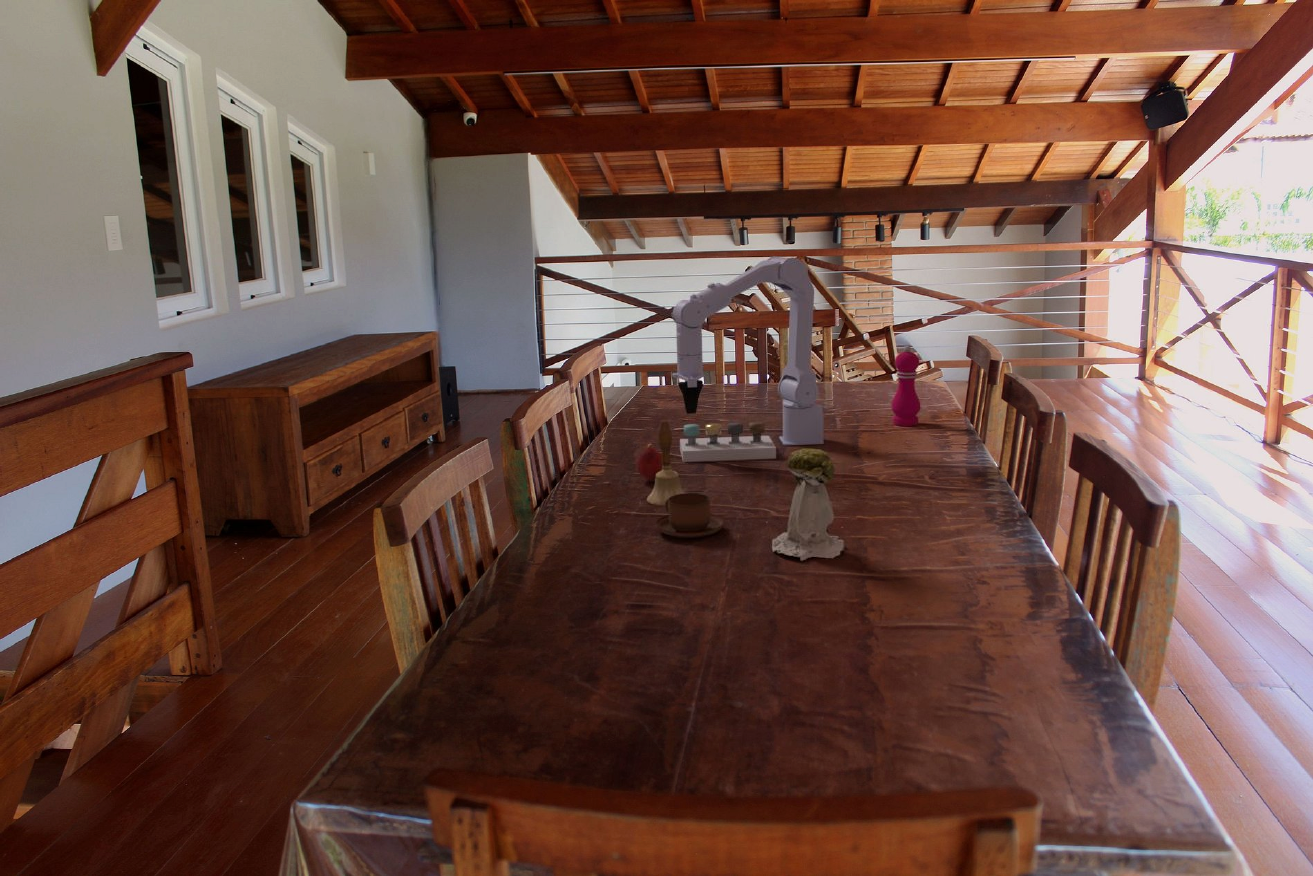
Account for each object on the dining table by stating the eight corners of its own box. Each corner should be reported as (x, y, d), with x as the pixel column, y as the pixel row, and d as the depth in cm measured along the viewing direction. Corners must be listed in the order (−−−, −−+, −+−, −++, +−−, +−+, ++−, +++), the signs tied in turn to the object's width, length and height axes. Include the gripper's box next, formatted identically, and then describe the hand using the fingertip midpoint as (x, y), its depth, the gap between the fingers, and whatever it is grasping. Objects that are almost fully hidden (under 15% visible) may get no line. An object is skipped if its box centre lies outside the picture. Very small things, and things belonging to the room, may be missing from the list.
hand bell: (672, 508, 191) (670, 426, 188) (638, 502, 196) (635, 422, 193) (697, 497, 198) (695, 418, 194) (663, 491, 203) (661, 414, 199)
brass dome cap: (720, 440, 232) (720, 423, 231) (722, 444, 229) (721, 426, 228) (705, 441, 232) (704, 423, 231) (706, 445, 229) (706, 427, 228)
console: (768, 445, 237) (768, 435, 237) (776, 458, 226) (775, 447, 225) (680, 449, 237) (679, 439, 236) (682, 462, 225) (682, 451, 225)
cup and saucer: (644, 538, 175) (642, 504, 174) (674, 518, 185) (673, 486, 184) (706, 547, 170) (705, 512, 168) (734, 526, 180) (734, 493, 179)
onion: (661, 485, 207) (660, 447, 205) (634, 484, 208) (633, 447, 206) (667, 477, 213) (665, 441, 211) (640, 477, 214) (639, 440, 212)
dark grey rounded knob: (742, 439, 232) (742, 422, 232) (744, 443, 229) (743, 425, 228) (726, 440, 232) (726, 422, 231) (728, 444, 229) (728, 426, 228)
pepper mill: (917, 420, 259) (919, 343, 254) (922, 426, 252) (924, 347, 247) (889, 420, 259) (890, 344, 255) (892, 427, 252) (894, 348, 248)
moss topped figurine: (763, 541, 171) (762, 444, 167) (829, 535, 173) (830, 439, 169) (783, 563, 160) (782, 460, 156) (854, 556, 162) (855, 454, 158)
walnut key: (763, 439, 233) (763, 421, 232) (765, 442, 229) (765, 424, 228) (748, 439, 232) (748, 422, 232) (750, 443, 229) (749, 425, 228)
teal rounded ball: (699, 441, 232) (698, 423, 231) (700, 445, 229) (699, 427, 228) (683, 442, 232) (683, 424, 231) (684, 445, 229) (684, 427, 228)
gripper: (670, 350, 233) (672, 407, 236) (673, 359, 219) (675, 420, 222) (700, 348, 233) (702, 406, 236) (705, 358, 219) (707, 419, 222)
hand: (691, 413), depth 229 cm, fingers closed
